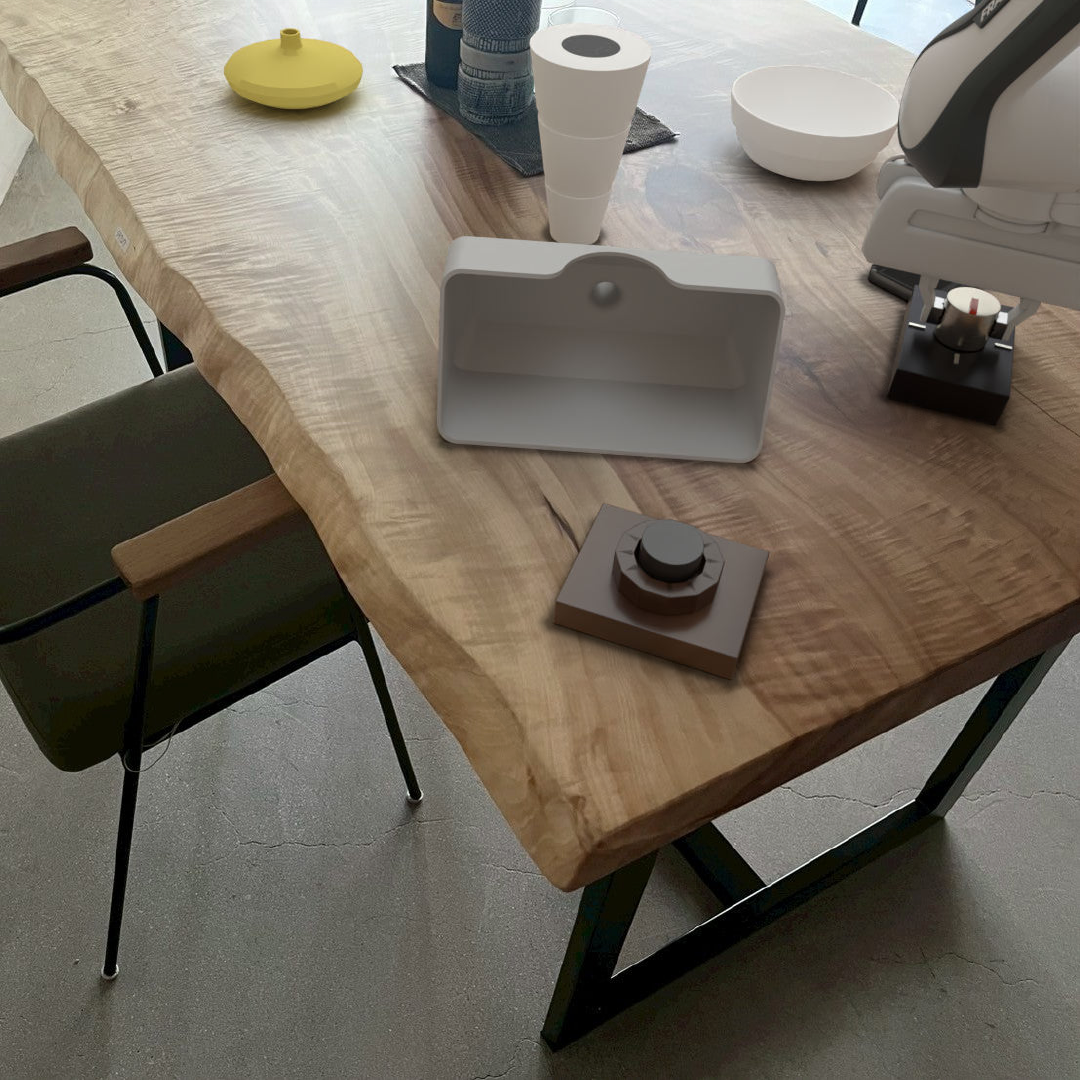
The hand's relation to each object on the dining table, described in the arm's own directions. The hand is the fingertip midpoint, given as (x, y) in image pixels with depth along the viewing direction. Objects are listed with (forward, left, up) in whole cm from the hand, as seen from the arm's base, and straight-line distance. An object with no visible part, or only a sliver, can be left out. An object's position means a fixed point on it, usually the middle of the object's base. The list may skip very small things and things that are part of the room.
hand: (963, 328), depth 89 cm
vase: (+77, -23, -4) cm, 81 cm away
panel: (0, 0, -4) cm, 4 cm away
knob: (0, 0, -1) cm, 1 cm away
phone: (+2, -16, -4) cm, 17 cm away
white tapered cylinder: (+37, -7, -4) cm, 38 cm away
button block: (+16, +36, -4) cm, 40 cm away
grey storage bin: (+27, +16, -4) cm, 32 cm away
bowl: (+19, -33, -4) cm, 38 cm away
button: (+16, +36, 0) cm, 39 cm away
